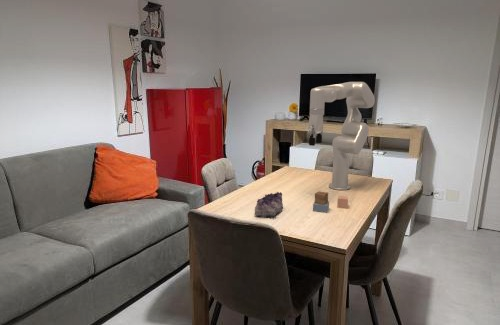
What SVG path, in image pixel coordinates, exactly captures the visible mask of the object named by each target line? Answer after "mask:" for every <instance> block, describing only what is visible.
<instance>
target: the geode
mask: <svg viewBox="0 0 500 325" xmlns="http://www.w3.org/2000/svg"><path fill="white" fill-rule="evenodd" d="M283 207H284V205H283V193H282V192H279V191H276V192H274V193H272V192H271V193H268V194H265V195H264V196H263V197H262V198H258V199H257V200H256V204H255V207H254V215H255V217H268V218H269V217H270V218H274V217H276V216H277V214H280V213H282V212H283Z"/></svg>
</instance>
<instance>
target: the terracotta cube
mask: <svg viewBox="0 0 500 325" xmlns="http://www.w3.org/2000/svg"><path fill="white" fill-rule="evenodd" d="M348 206H349V196H345V195H338V196H337V206H336V207H337V209H339V208H340V209H345V210H346V209H348Z"/></svg>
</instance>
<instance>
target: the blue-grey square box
mask: <svg viewBox="0 0 500 325" xmlns="http://www.w3.org/2000/svg"><path fill="white" fill-rule="evenodd" d="M329 209H330V201H329V200H328V203H326V204H325V205H322V204H317V203H315V201H314V202H313V204H312V212H316V213H324V214H327V213H328V211H329Z"/></svg>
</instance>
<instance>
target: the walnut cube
mask: <svg viewBox="0 0 500 325" xmlns="http://www.w3.org/2000/svg"><path fill="white" fill-rule="evenodd" d="M328 201H329V192H325V191H322V190H318V191H317V192H315V193H314V202H315V203H317V204H322V205H325V204H326V203H328Z"/></svg>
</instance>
